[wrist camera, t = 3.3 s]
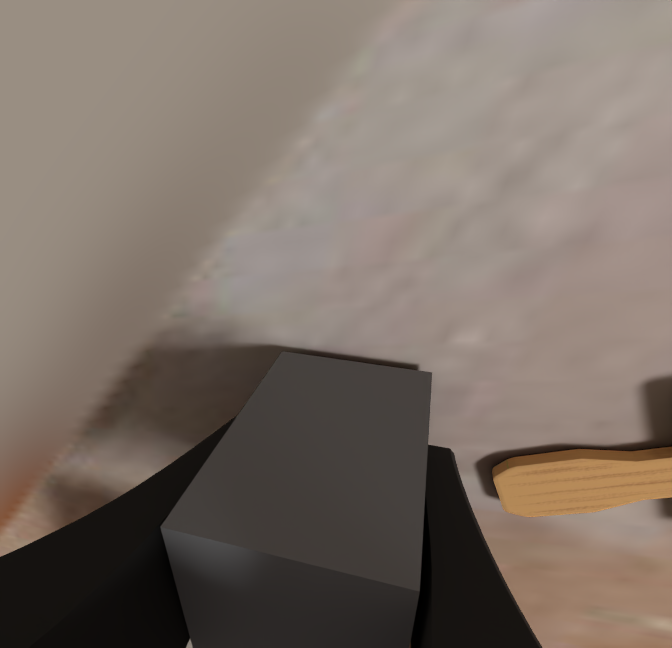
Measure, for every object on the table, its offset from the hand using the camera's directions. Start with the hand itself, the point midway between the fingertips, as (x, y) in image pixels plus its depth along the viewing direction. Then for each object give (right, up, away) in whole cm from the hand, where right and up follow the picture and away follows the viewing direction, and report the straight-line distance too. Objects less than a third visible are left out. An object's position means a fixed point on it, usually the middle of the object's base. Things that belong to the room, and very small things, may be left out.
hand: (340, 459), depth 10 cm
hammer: (0, -5, +4) cm, 7 cm away
